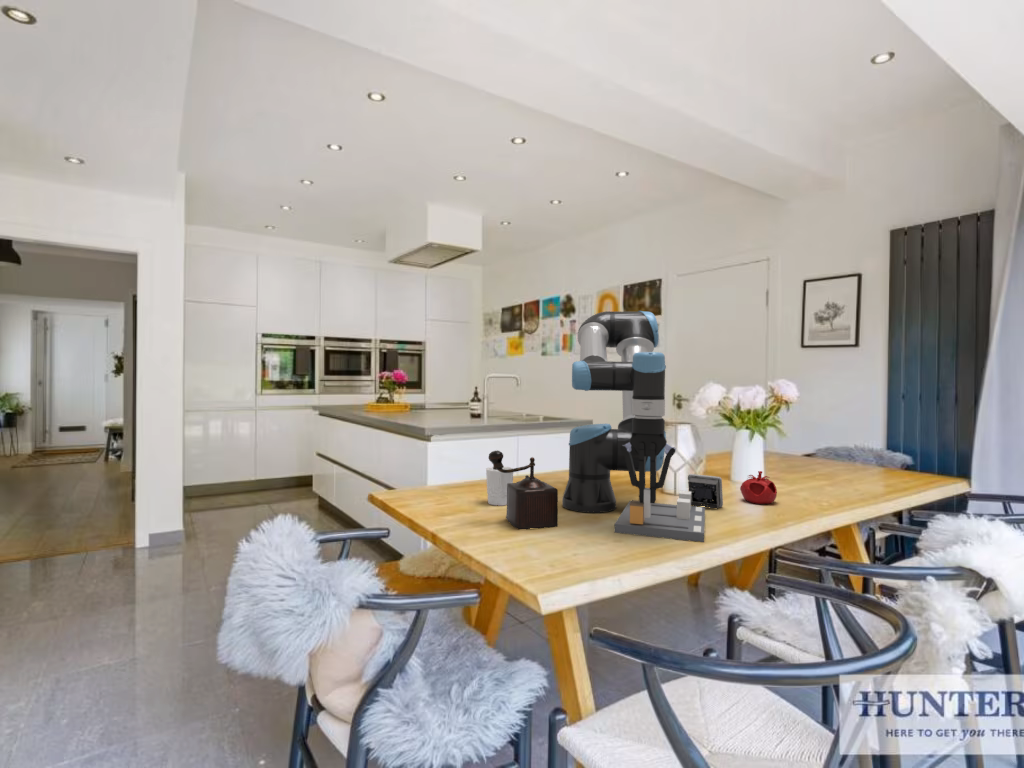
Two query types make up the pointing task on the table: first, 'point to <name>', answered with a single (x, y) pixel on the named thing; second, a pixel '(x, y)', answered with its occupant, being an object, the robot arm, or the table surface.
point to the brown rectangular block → (637, 512)
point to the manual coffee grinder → (528, 498)
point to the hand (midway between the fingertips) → (647, 516)
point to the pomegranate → (759, 490)
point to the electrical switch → (705, 490)
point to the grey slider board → (667, 520)
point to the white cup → (498, 485)
